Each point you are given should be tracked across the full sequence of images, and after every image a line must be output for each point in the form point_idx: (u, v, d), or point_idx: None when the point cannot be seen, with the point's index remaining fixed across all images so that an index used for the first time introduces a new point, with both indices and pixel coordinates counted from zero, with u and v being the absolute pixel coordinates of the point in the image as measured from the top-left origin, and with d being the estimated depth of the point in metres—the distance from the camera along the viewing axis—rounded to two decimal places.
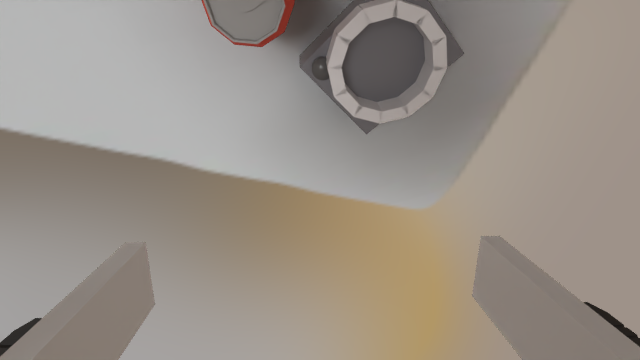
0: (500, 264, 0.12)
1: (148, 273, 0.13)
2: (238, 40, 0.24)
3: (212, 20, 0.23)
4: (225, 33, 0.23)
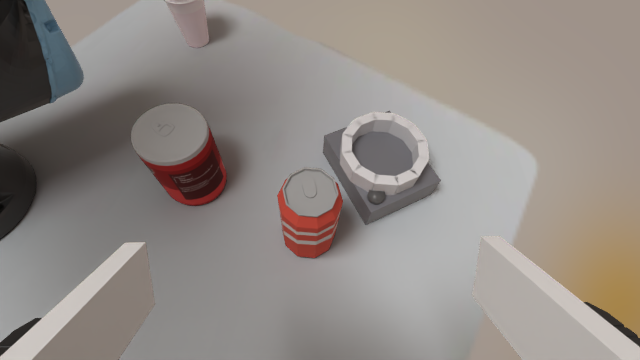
0: (500, 264, 0.12)
1: (149, 273, 0.13)
2: (332, 204, 0.32)
3: (313, 215, 0.31)
4: (324, 210, 0.31)
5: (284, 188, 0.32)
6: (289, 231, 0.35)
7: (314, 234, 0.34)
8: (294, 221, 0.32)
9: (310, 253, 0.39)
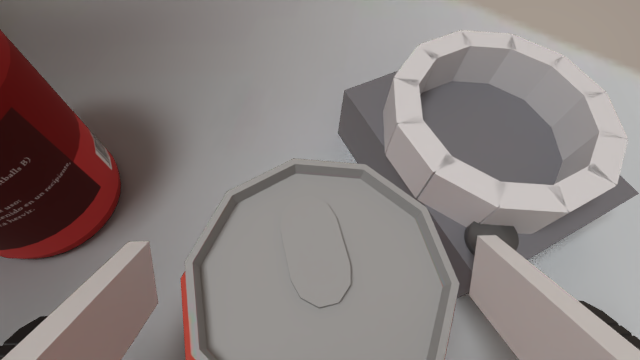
0: (496, 263, 0.12)
1: (152, 272, 0.13)
2: (437, 350, 0.06)
3: None
4: None
5: (196, 260, 0.07)
6: None
7: None
8: None
9: None
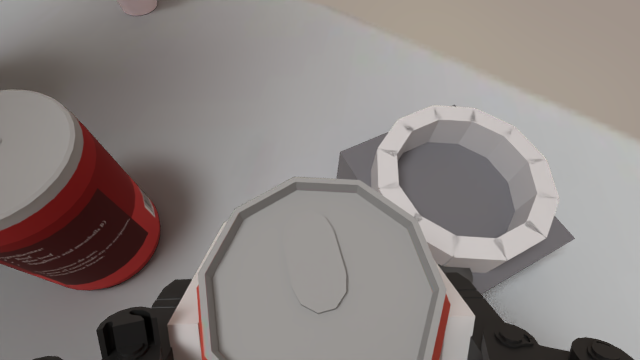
0: None
1: None
2: (425, 351, 0.07)
3: None
4: None
5: (208, 272, 0.08)
6: None
7: None
8: None
9: None
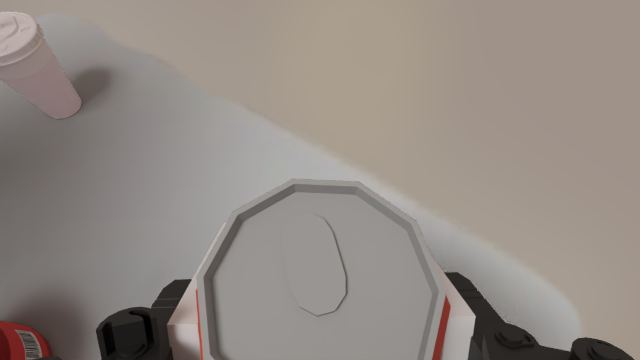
0: None
1: None
2: (425, 354, 0.07)
3: None
4: None
5: (207, 275, 0.07)
6: None
7: None
8: None
9: None
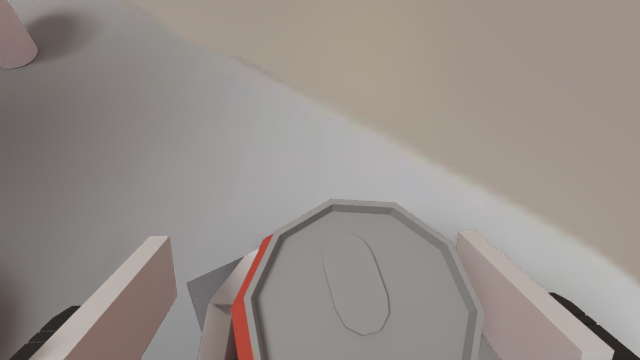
0: (474, 257, 0.13)
1: (172, 266, 0.14)
2: None
3: None
4: None
5: (253, 295, 0.08)
6: None
7: None
8: None
9: None
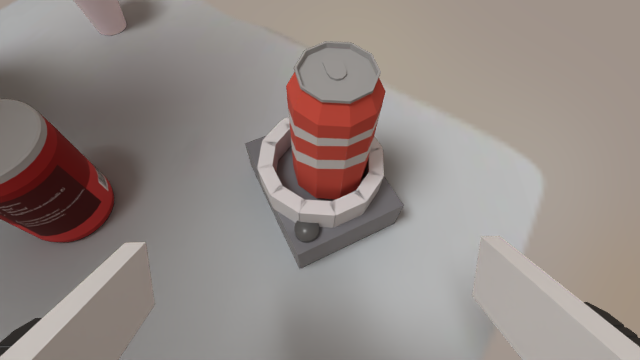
0: (500, 264, 0.12)
1: (149, 273, 0.13)
2: (372, 86, 0.20)
3: (345, 100, 0.20)
4: (362, 94, 0.20)
5: (297, 68, 0.21)
6: (305, 146, 0.24)
7: (344, 143, 0.22)
8: (314, 116, 0.21)
9: (334, 190, 0.28)
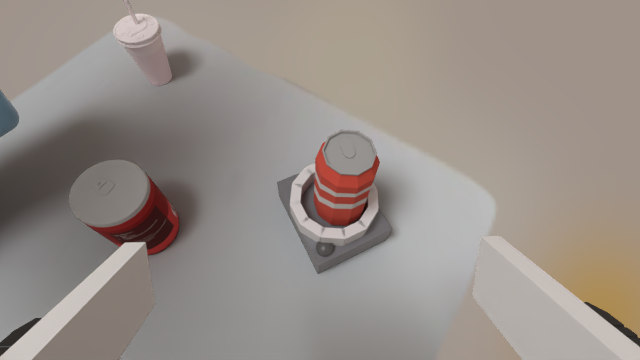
0: (500, 264, 0.12)
1: (149, 273, 0.13)
2: (371, 163, 0.32)
3: (355, 173, 0.32)
4: (365, 169, 0.32)
5: (323, 150, 0.33)
6: (326, 195, 0.36)
7: (353, 195, 0.34)
8: (335, 181, 0.33)
9: (344, 220, 0.40)
